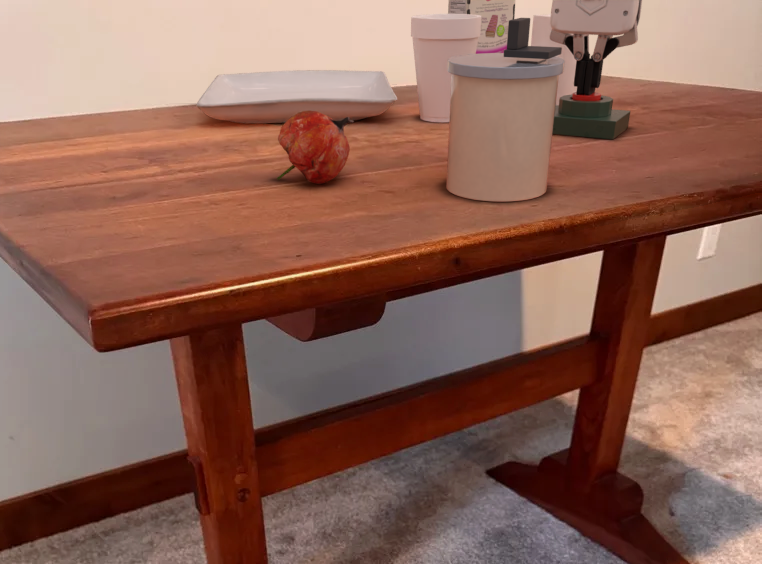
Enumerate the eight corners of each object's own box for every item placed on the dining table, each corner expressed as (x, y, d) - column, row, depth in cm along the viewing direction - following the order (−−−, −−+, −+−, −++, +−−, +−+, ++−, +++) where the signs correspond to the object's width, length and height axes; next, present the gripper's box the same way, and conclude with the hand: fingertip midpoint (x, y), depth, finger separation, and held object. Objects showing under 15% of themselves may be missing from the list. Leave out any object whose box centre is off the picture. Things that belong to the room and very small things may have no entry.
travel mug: (563, 181, 82) (579, 54, 76) (530, 208, 74) (544, 68, 68) (466, 170, 87) (473, 49, 81) (424, 194, 79) (429, 62, 73)
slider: (561, 54, 74) (565, 18, 72) (548, 59, 71) (551, 21, 69) (517, 52, 76) (520, 17, 74) (503, 57, 73) (505, 20, 71)
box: (628, 128, 106) (632, 96, 104) (613, 139, 100) (618, 105, 98) (554, 121, 110) (557, 91, 108) (535, 132, 104) (538, 100, 102)
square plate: (219, 96, 132) (217, 71, 130) (384, 93, 132) (384, 68, 130) (197, 129, 108) (194, 98, 106) (398, 125, 109) (398, 95, 107)
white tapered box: (508, 101, 125) (515, 15, 119) (556, 96, 128) (565, 13, 122) (541, 110, 117) (550, 20, 111) (592, 105, 120) (603, 17, 114)
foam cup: (489, 117, 113) (496, 15, 106) (445, 127, 107) (450, 20, 101) (439, 109, 119) (442, 12, 112) (395, 118, 114) (396, 16, 107)
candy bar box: (489, 84, 140) (496, -22, 131) (510, 87, 136) (519, -22, 128) (443, 91, 134) (447, -20, 125) (464, 94, 130) (470, -19, 122)
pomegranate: (283, 212, 82) (357, 155, 77) (241, 150, 81) (314, 89, 76) (309, 201, 88) (379, 147, 84) (271, 143, 87) (340, 86, 82)
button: (602, 106, 104) (604, 92, 103) (595, 111, 101) (597, 96, 100) (575, 104, 105) (576, 90, 105) (567, 109, 103) (569, 94, 102)
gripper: (535, -73, 94) (520, 93, 103) (667, -74, 87) (638, 102, 97) (554, -72, 99) (538, 85, 109) (679, -74, 93) (651, 93, 102)
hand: (585, 93), depth 103 cm, fingers closed
